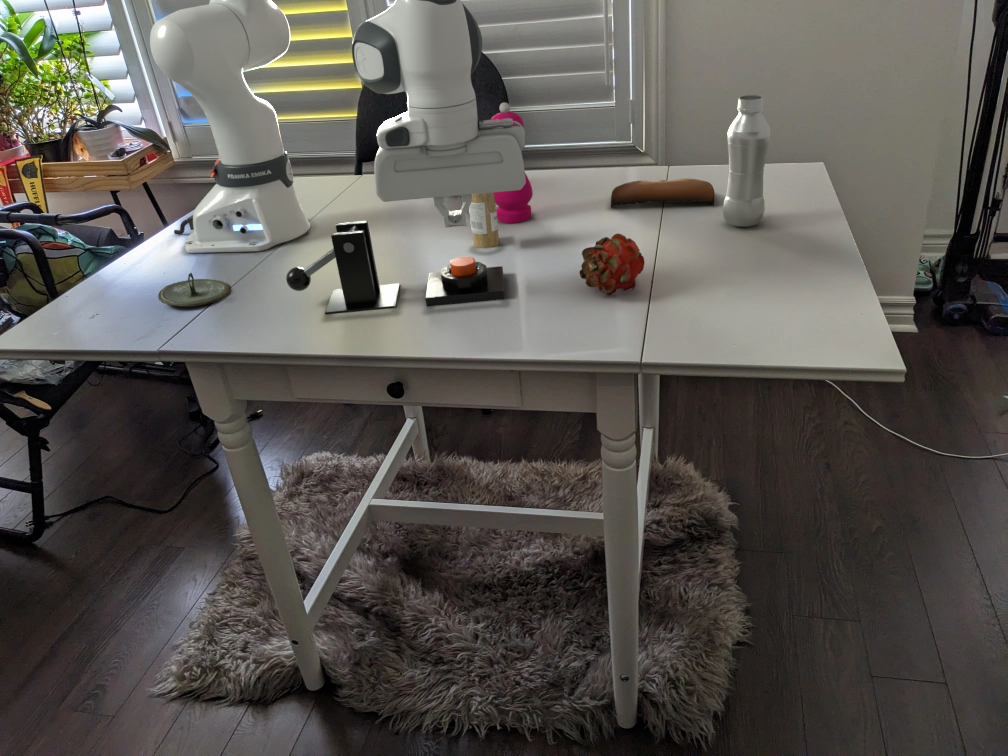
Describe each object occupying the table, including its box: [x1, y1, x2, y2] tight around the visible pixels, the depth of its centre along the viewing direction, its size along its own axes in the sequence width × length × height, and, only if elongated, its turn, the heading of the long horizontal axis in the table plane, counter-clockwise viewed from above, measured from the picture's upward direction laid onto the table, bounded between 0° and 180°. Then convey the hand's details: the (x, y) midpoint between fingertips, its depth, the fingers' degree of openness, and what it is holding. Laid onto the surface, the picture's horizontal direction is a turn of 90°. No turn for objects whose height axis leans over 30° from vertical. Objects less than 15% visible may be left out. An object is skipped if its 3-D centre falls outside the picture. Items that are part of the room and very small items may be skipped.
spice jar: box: [468, 192, 500, 249], centre depth 129 cm, size 5×5×13 cm
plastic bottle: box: [722, 94, 772, 228], centre depth 126 cm, size 6×7×20 cm
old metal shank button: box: [157, 272, 231, 307], centre depth 123 cm, size 11×10×5 cm
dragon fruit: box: [578, 233, 645, 296], centre depth 112 cm, size 8×8×12 cm
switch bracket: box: [324, 220, 401, 315], centre depth 114 cm, size 10×8×12 cm
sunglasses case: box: [610, 178, 715, 208], centre depth 143 cm, size 18×7×7 cm
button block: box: [424, 261, 505, 308], centre depth 116 cm, size 11×9×4 cm
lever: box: [285, 226, 366, 292], centre depth 113 cm, size 13×3×3 cm, turn 91°
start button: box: [449, 255, 476, 276], centre depth 114 cm, size 4×4×2 cm
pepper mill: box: [490, 102, 534, 224], centre depth 139 cm, size 7×7×20 cm
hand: (456, 225), depth 111 cm, fingers closed
